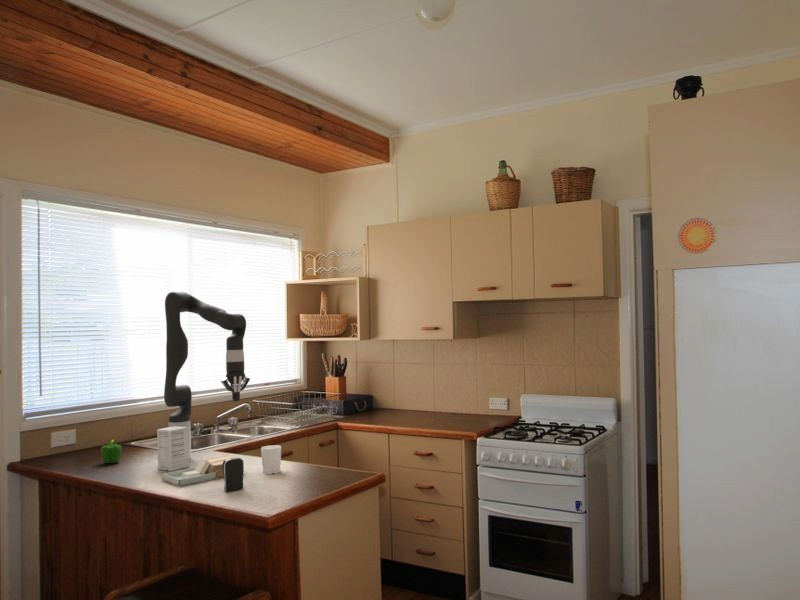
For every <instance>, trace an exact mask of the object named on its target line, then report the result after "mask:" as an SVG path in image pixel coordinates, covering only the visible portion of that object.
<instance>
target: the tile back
mask: <svg viewBox="0 0 800 600" xmlns="http://www.w3.org/2000/svg"><path fill="white" fill-rule="evenodd" d="M199 461H200V462H198V463H197V464H196V466H195V467H196V468H195V467H194V468H195V469H194V470H195V471H197V472H200V474H204V473H205V471H206V470H207V468H208V467H209V465H210V462H208V461H206V459H204V458H201V459H200V460H199Z"/></svg>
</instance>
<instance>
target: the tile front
mask: <svg viewBox="0 0 800 600" xmlns="http://www.w3.org/2000/svg"><path fill="white" fill-rule="evenodd" d="M199 475H200V472H197V471H195V470H194V471H189V472H184V473H182V478H183V479H185V478H190V477H195V476H199Z"/></svg>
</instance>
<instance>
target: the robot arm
mask: <svg viewBox="0 0 800 600" xmlns="http://www.w3.org/2000/svg"><path fill="white" fill-rule="evenodd" d="M164 310H165V311H164V312H165V320H166V342H165V343H166V344H165V346H166V348H165V355H166V358H165V359H166V361H165V362H166V363H165V364H166V366H165V367H166V368H165V381H164V391H163V398H164V399H163V400H164V403H165V406H167V407H168V408H170V407H171V408H172V407H173V408H174V407H178V409H177V410H176V411H174V412H173V413H171V414H170V415H169V416H168V427H173V426H179V427H188V435H189V460H191V459H192V439H191V437H192V435H191V434H192V433H191V430H192V429H191V428H192V427H191V415H192V391H191V390H192V389H191V387H190V385H188V384H180V385H179V384H176V383H177V378H178V375H179V372H180V371H181V369H182V368H183V366H184V364H185V363H186V361H187V359H188V355H189V340H188V338H187V336H186V334H185V331H184V330H183V327H182V324H181V313H186V312H187V313H193V314H196V315H198V316H200V318H202V319H203V320H205V321H207V322H209V323H212V324H214V325H215V324H216V325H217V326H219V327H220V328H222V329H224V330H226V331H231V335H230V336H229V335H228V336H227V338H226V342H225V343H226V344H225V345H226V353H225V367H226V368H225V369H226V375H225V378H224V379H221V380H220V383H221V384H222V385H223V386H224V388H225V389H226V390H227V391H228V392H230V393H232V394H231V395H232V396H231V398H232V401H233V402H239V401H240V399H241V395H240V394H241V392H242V391H244V390H245V388H246V387H247V385H248V383H249V382H250V380H251V378H250V377H247V376H246V374H245V353H244V337H245V333H246V331H247V330H246V329H247V319H246V317H245V316H244V315H243V314H240V313H229V312H228V313H227V311H226V310H224V309H223V308H220V307H218V306H215V305H211V304H209V303H206V302H205V301H202V300H200V299H199V298H196V297H195V296H193V295H191V294H190V293H188V292H186V291H170V292H169V293H167V294H166V297H165V299H164Z"/></svg>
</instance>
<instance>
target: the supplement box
mask: <svg viewBox="0 0 800 600" xmlns="http://www.w3.org/2000/svg"><path fill="white" fill-rule="evenodd" d="M156 431H157V432H156V434H157V435H156V441H157V443H156V444H157V470H161V469H162V470H163V471H167V470H168V471H169V472H174V471H179V470H183V469H187V468H189V467H190V459H189V435H188V427H179V426H173V427H169V426H168V427H163V428H159V429H156ZM162 470H161V471H162ZM168 471H167V472H168Z"/></svg>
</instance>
